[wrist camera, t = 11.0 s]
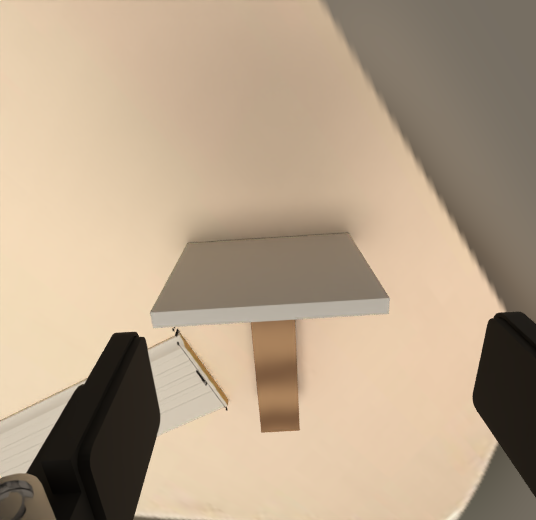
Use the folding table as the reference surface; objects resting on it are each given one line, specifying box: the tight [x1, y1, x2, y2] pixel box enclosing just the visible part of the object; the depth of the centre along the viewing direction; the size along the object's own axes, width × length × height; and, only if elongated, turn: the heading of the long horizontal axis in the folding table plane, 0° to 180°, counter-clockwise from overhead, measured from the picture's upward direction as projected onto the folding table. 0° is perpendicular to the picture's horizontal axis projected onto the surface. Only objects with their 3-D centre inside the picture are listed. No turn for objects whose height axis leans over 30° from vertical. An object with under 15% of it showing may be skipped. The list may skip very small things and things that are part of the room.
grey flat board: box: [0, 327, 228, 477], centre depth 47 cm, size 31×3×12 cm
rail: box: [251, 320, 300, 433], centre depth 41 cm, size 16×4×6 cm, turn 4°
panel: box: [150, 233, 390, 328], centre depth 34 cm, size 5×16×14 cm, turn 94°
